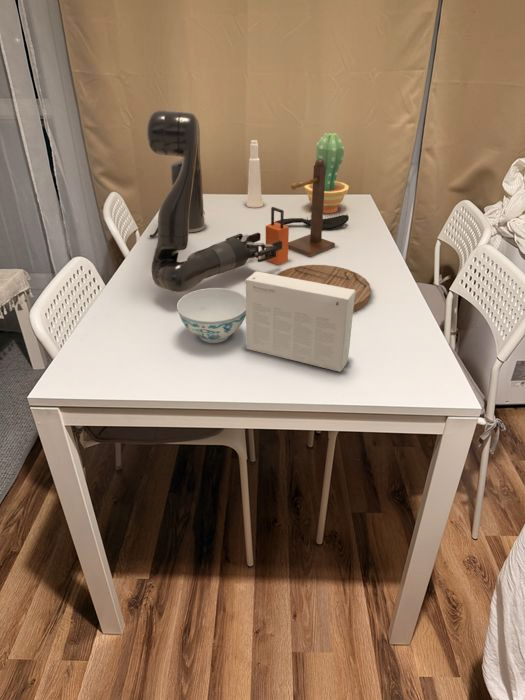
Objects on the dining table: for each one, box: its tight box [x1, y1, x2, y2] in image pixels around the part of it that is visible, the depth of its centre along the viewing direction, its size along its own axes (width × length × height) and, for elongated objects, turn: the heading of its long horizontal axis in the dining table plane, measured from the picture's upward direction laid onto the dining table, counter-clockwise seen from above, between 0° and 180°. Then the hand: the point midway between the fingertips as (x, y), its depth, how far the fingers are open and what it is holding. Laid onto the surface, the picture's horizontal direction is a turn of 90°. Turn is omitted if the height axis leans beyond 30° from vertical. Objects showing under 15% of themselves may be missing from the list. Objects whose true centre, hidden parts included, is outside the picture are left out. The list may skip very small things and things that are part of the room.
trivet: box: [275, 264, 372, 313], centre depth 135 cm, size 25×25×2 cm
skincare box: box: [245, 271, 355, 373], centre depth 107 cm, size 21×5×16 cm, turn 65°
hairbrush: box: [274, 213, 350, 231], centre depth 174 cm, size 8×4×25 cm
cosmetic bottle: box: [246, 139, 264, 209], centre depth 187 cm, size 6×6×22 cm
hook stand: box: [288, 159, 336, 258], centre depth 152 cm, size 14×10×25 cm
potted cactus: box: [304, 132, 350, 214], centre depth 182 cm, size 15×15×25 cm
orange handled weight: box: [265, 206, 290, 266], centre depth 148 cm, size 4×5×15 cm
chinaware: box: [176, 287, 246, 344], centre depth 116 cm, size 15×15×8 cm
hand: (270, 240), depth 147 cm, fingers open, 8 cm apart
